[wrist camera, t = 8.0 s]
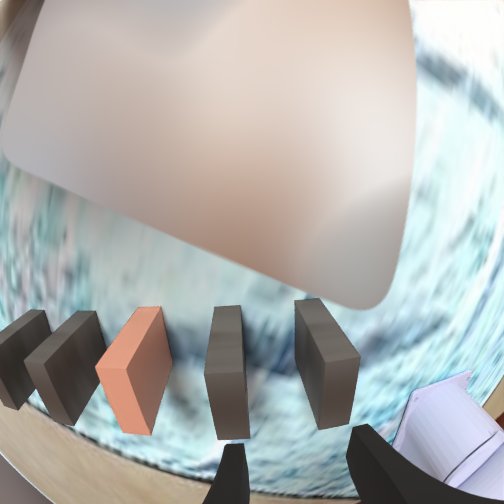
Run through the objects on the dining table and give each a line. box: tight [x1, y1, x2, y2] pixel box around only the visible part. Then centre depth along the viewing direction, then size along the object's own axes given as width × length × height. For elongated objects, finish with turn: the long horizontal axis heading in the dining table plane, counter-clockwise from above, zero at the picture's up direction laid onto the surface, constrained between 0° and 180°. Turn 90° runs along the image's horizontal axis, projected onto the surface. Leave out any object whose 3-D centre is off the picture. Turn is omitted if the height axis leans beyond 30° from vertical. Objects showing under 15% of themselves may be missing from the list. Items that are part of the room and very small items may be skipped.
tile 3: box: [24, 311, 107, 426], centre depth 14 cm, size 4×2×7 cm, turn 4°
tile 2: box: [204, 305, 250, 440], centre depth 15 cm, size 4×2×7 cm, turn 4°
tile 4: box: [0, 310, 51, 410], centre depth 14 cm, size 4×2×7 cm, turn 4°
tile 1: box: [295, 298, 361, 430], centre depth 15 cm, size 4×2×7 cm, turn 4°
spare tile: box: [95, 306, 173, 436], centre depth 15 cm, size 4×2×7 cm, turn 4°
